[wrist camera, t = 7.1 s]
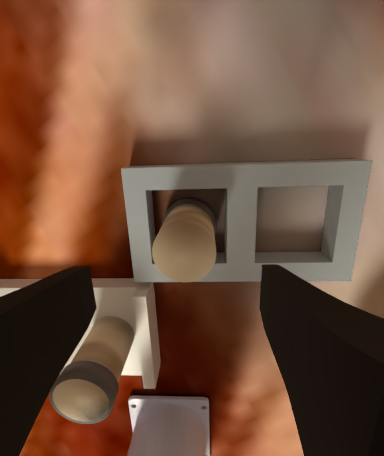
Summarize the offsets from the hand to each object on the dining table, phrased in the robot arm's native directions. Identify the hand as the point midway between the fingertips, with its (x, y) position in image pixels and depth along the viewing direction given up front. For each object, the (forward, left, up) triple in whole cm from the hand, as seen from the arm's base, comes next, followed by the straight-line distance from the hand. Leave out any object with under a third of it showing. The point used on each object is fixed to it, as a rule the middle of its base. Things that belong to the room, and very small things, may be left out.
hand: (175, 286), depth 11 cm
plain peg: (-9, +7, -8) cm, 14 cm away
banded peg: (0, 0, -10) cm, 10 cm away
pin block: (0, -4, -10) cm, 11 cm away
